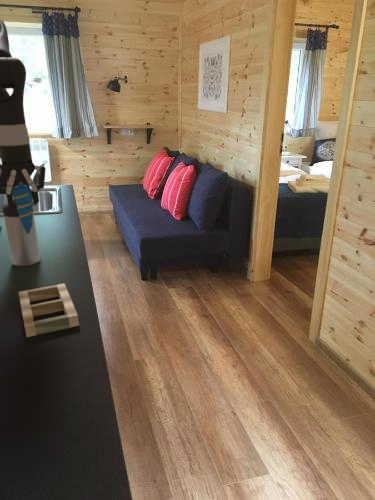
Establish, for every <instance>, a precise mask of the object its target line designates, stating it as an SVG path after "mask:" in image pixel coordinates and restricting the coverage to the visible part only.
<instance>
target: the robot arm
mask: <svg viewBox="0 0 375 500" xmlns="http://www.w3.org/2000/svg"><path fill="white" fill-rule="evenodd" d="M26 81H27V70H26V66H25V64H24V62H23V61H21V59H19V58H17V57H13V56H12V54H11V52H10V41H9V36H8V29H7V26H6V23H5V22H4V20H3V19H2V18H0V195H6V200H7V202H6V203H5V204H4V205H3V206H2V214H3V219H4V224H5V231H6V236H7V242H8V243H7V244H8V248H9V254H10V259H11V263H12V265H13V266H16V267H27V266H28V267H29V266H33V265H35V264H37V263H39V262H40V261H41V255H40V253H41V252H40V248H39V240H38V233H37V228H36V227H37V225H36V221H35V214H34V208H32V213H33V217H32V227H31V230H30V233H29V234H28V233H26V231H25V229H24V227H23V225H22V223H21V221H20V215H19V214H18V211H17V206H16V205H15V203H14V197H13V195H12V189H13V188H14V187H15V186H18V185H19V182H20V181H21V182H23V185H27V186H29V188H30V189H31V191H32V194H33V199H32V202H33V206H37V205H38V203H39V202H40V199H39V193H38V192H39V190H43V189H44V188H45V180H46V179H45V177H46V167H45V166H44V165H35V164H34V162H33V158H32V157H33V156H32V151H31V150H32V149H31V144H30V143H31V142H30V136H29V131H28V128H27V124H26V115H25V109H24V108H25V107H24V96H25V95H24V93H25V86H26ZM9 89H12V93H11V94H10V93H9V92H8V90H9ZM35 170H36V174H38V182H37V184H35V183H34V181H33V178H31V177H32V174H33V173H34V172H35Z"/></svg>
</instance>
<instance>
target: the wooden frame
mask: <svg viewBox="0 0 375 500" xmlns="http://www.w3.org/2000/svg"><path fill="white" fill-rule="evenodd" d="M18 296H19V302H20V309H21V314H22V319H23V325H24V330H25V336H26V338H29V337H35V336H39V335H44V334H48V333H53V332H57V331H60V330H65V329H70V328H73V327H78V326H80V322H79V314H78V311H77V310H76V309H75V305H74V302H73V300H72V298H71V296H70V293H69V290H68V288H67V286H66V283H59V284H55V285H54V284H53V285H48V286H43V287H37V288H33V289H27V290H22V291H18ZM56 297H58V298H59V299H54V300H50V301H49V300H48V301H44V302H39V303H36V304H35V303H34V304H31V303H32V302H36V301H41V300H46V299H52V298H56ZM62 311H63V312H64V314H63V315H59V316H54V317H48V318H44V319H38V320H35V321H34V317H38V316H39V317H40V316H43V315H49V314H53V313H58V312H62Z"/></svg>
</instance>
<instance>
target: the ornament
mask: <svg viewBox="0 0 375 500" xmlns="http://www.w3.org/2000/svg"><path fill="white" fill-rule="evenodd" d="M12 196H13V200H14V203H15V205H16V206H17V211H18V214H19V215H20V221H21V223H22V225H23V227H24V229H25V231H26V233H28V234H29V233H30V230H31V227H32V217H33V213H34V212H33V213H32V208H33V207H34V203H33V194H32V188H31V187H30V188H29V186H27V185H23V182H21V181H20V182H19V185H18V186H15V187H14V188H13V189H12ZM33 209H34V208H33Z"/></svg>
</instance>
